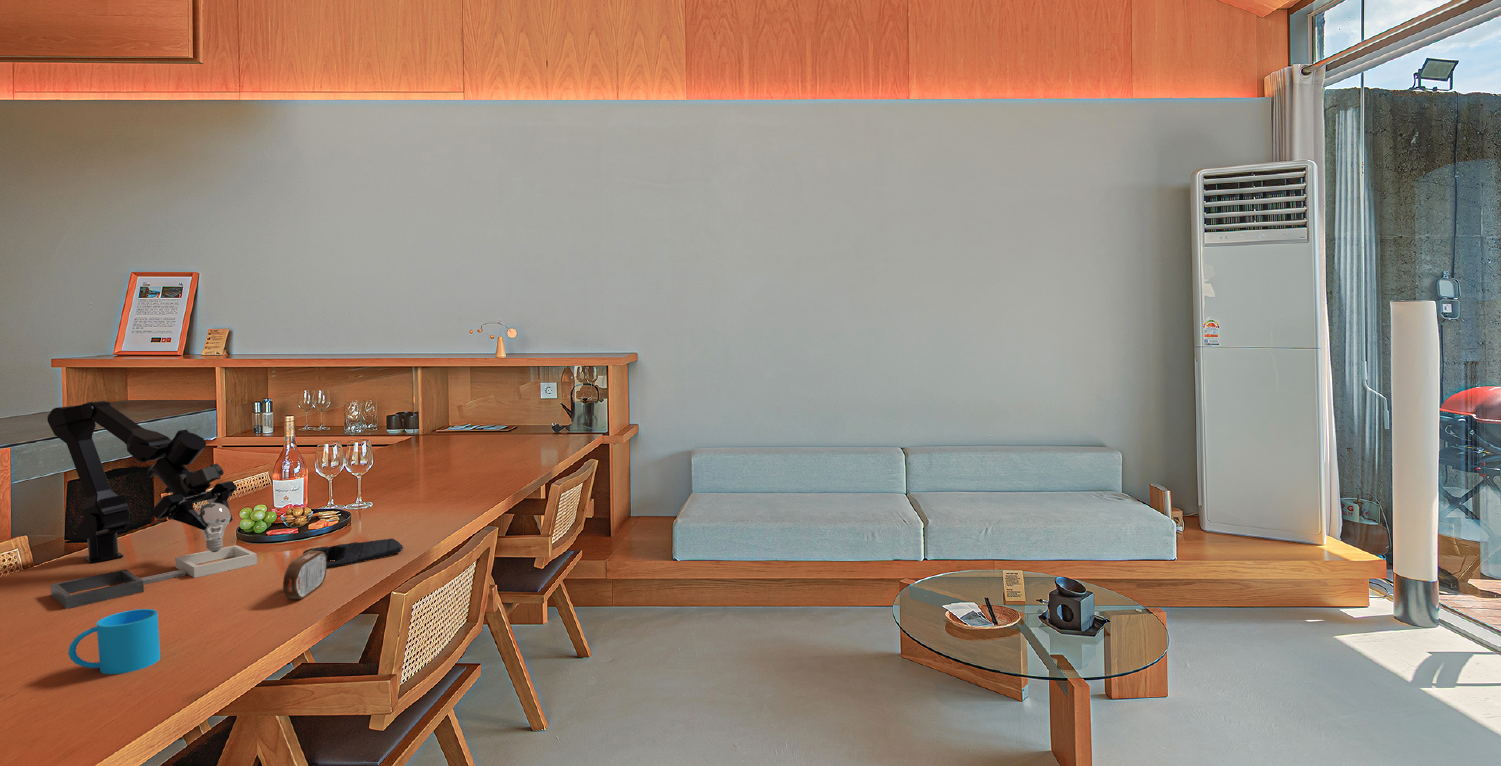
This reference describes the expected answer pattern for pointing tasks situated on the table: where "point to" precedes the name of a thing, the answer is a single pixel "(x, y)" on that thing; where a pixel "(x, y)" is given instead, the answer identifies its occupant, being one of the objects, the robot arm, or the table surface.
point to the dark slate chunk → (359, 551)
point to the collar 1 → (69, 601)
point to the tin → (304, 574)
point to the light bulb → (214, 524)
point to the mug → (123, 642)
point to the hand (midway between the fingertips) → (218, 524)
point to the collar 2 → (240, 560)
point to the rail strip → (163, 576)
